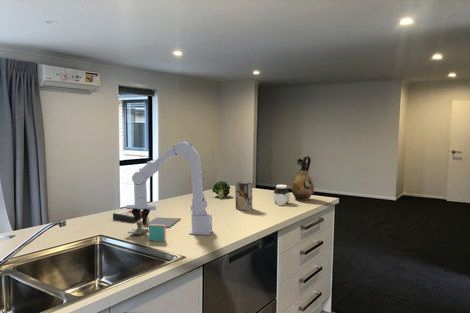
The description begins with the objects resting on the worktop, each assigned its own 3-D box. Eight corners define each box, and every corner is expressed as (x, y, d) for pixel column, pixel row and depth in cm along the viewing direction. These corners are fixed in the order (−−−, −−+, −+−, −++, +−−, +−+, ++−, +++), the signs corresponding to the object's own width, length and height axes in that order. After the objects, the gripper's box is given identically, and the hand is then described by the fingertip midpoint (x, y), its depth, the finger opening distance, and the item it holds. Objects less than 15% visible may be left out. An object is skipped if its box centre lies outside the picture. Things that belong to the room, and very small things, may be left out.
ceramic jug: (303, 202, 241) (304, 157, 238) (286, 199, 253) (286, 156, 250) (320, 199, 251) (320, 156, 249) (302, 196, 263) (303, 155, 261)
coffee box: (253, 208, 225) (253, 182, 224) (248, 210, 219) (248, 184, 218) (239, 207, 229) (239, 181, 228) (235, 209, 223) (234, 183, 222)
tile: (165, 240, 162) (165, 224, 161) (164, 241, 160) (163, 225, 159) (150, 239, 163) (150, 224, 163) (149, 240, 161) (148, 225, 161)
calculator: (133, 216, 192) (112, 212, 199) (133, 224, 193) (112, 219, 200) (147, 212, 202) (127, 208, 209) (147, 219, 202) (127, 215, 209)
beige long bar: (141, 225, 182) (140, 216, 182) (152, 225, 181) (152, 217, 180) (128, 233, 168) (127, 223, 168) (140, 233, 167) (139, 224, 167)
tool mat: (180, 219, 199) (180, 218, 199) (169, 228, 181) (169, 227, 181) (156, 218, 202) (156, 217, 202) (142, 226, 184) (142, 225, 184)
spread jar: (284, 201, 247) (284, 184, 246) (294, 204, 236) (294, 186, 235) (269, 202, 241) (269, 185, 240) (278, 206, 231) (278, 187, 230)
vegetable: (208, 195, 257) (210, 183, 270) (220, 206, 262) (222, 194, 275) (221, 186, 253) (222, 174, 266) (233, 197, 257) (234, 185, 270)
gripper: (158, 195, 177) (158, 222, 178) (130, 194, 179) (131, 221, 180) (152, 198, 170) (153, 226, 171) (123, 197, 173) (124, 225, 174)
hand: (141, 224), depth 175 cm, fingers closed on beige long bar, 2 cm apart
